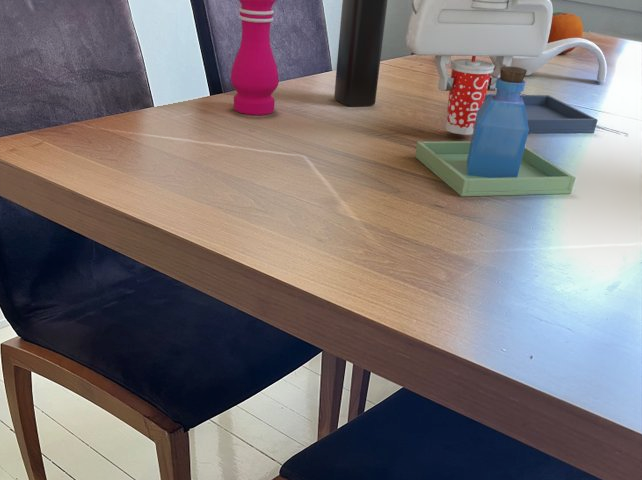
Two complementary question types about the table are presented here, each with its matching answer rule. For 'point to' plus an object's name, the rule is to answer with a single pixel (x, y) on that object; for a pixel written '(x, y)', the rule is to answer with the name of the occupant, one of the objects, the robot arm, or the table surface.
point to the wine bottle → (359, 51)
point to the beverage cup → (467, 93)
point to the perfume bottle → (500, 129)
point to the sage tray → (531, 178)
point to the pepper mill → (255, 60)
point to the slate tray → (555, 116)
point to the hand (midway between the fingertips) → (468, 90)
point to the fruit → (565, 28)
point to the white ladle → (554, 49)
